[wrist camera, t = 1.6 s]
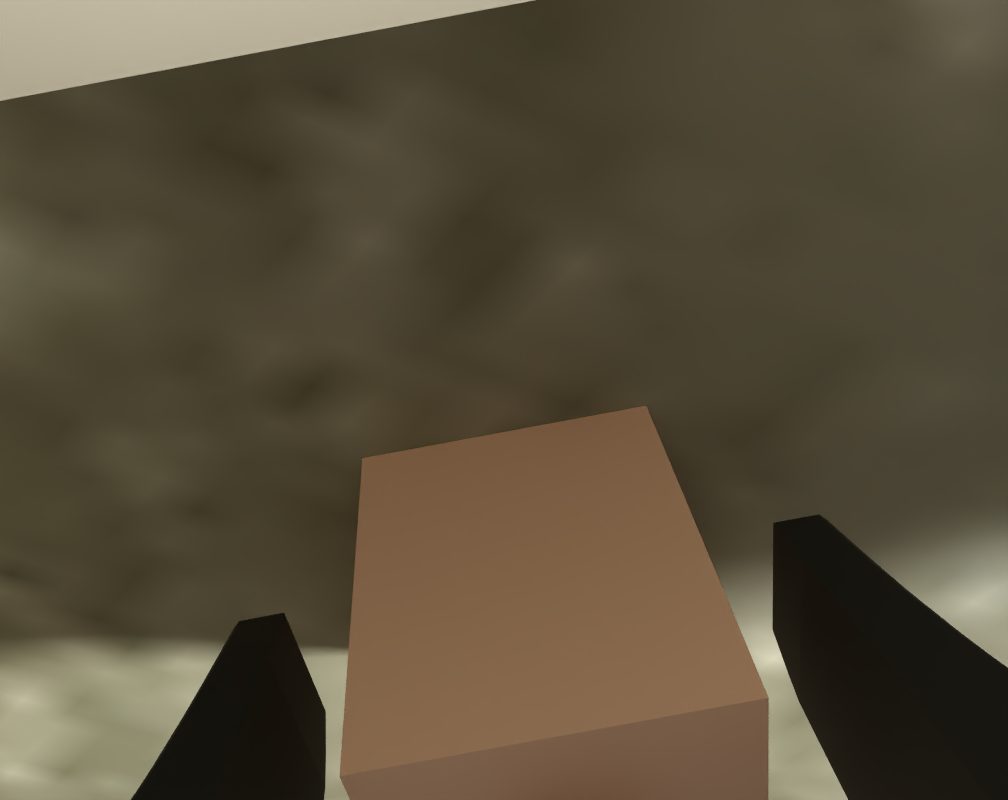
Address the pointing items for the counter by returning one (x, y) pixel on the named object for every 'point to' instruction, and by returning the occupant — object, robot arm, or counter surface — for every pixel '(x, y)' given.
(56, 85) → the base brick
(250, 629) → the robot arm
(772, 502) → the counter surface
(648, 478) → the top brick
